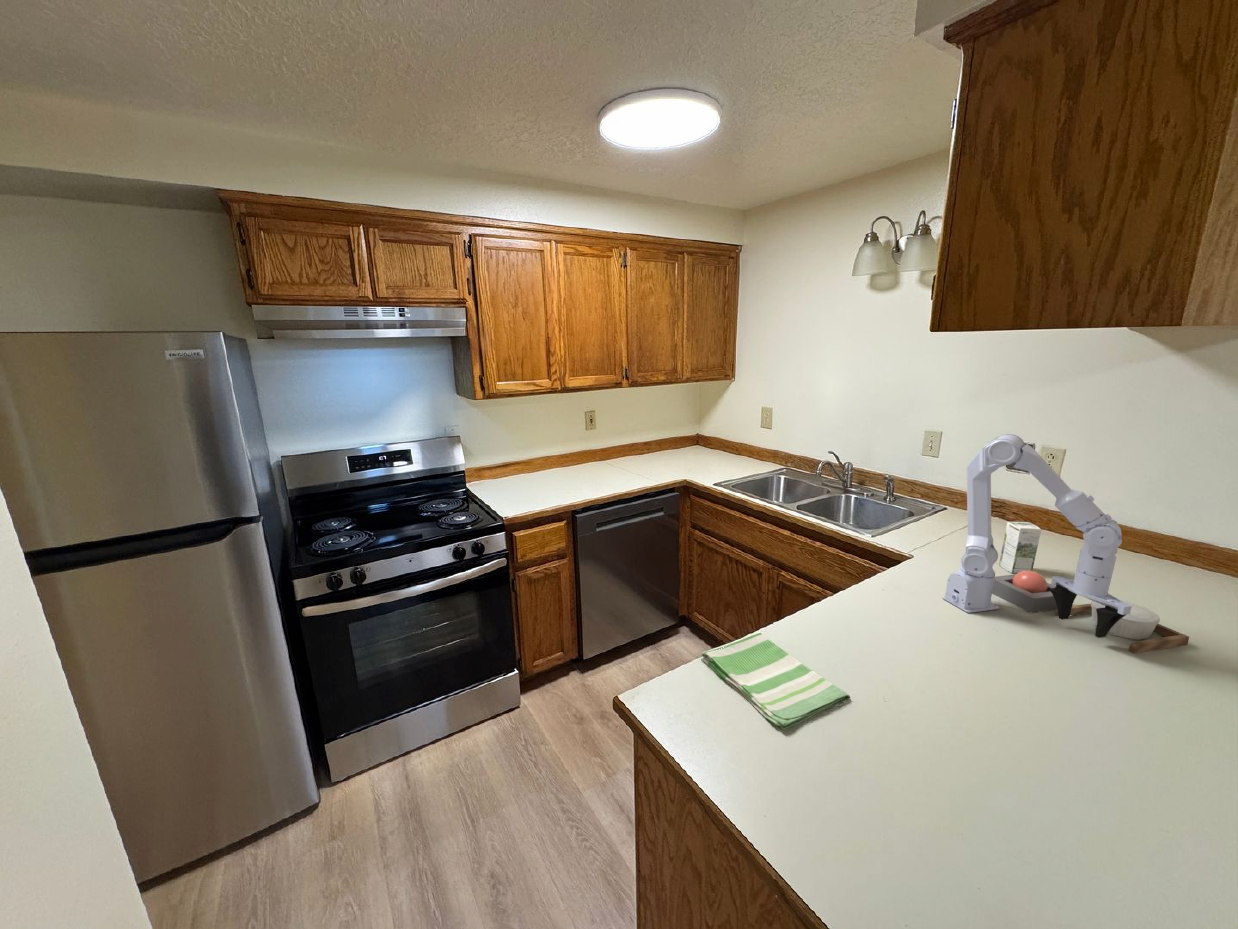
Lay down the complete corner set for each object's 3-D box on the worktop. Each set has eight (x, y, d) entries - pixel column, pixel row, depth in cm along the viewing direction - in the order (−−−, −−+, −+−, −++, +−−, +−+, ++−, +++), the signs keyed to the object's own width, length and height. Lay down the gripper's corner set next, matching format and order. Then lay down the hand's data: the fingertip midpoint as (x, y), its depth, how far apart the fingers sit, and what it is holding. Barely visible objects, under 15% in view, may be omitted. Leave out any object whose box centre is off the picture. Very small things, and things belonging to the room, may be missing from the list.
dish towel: (781, 736, 83) (782, 722, 82) (697, 662, 103) (698, 651, 103) (850, 701, 91) (851, 688, 91) (760, 639, 111) (761, 628, 111)
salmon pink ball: (1029, 604, 123) (1034, 579, 122) (1003, 591, 130) (1007, 567, 128) (1052, 601, 125) (1057, 576, 123) (1025, 589, 131) (1029, 565, 130)
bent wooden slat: (1134, 653, 104) (1136, 645, 104) (1055, 615, 120) (1057, 607, 119) (1187, 645, 107) (1189, 636, 107) (1103, 608, 122) (1105, 601, 122)
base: (1031, 613, 121) (1033, 598, 120) (986, 590, 132) (989, 577, 131) (1069, 608, 123) (1072, 593, 122) (1023, 586, 134) (1025, 573, 133)
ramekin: (1097, 635, 111) (1102, 614, 110) (1079, 613, 121) (1083, 593, 120) (1165, 648, 106) (1171, 626, 105) (1140, 623, 116) (1145, 603, 115)
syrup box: (1018, 566, 147) (1027, 521, 144) (1032, 575, 141) (1042, 528, 138) (998, 565, 148) (1006, 520, 144) (1011, 574, 142) (1020, 527, 139)
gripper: (1148, 585, 102) (1133, 643, 105) (1072, 557, 116) (1061, 609, 119) (1121, 588, 100) (1107, 647, 103) (1048, 560, 114) (1038, 612, 117)
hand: (1081, 627), depth 111 cm, fingers open, 7 cm apart
